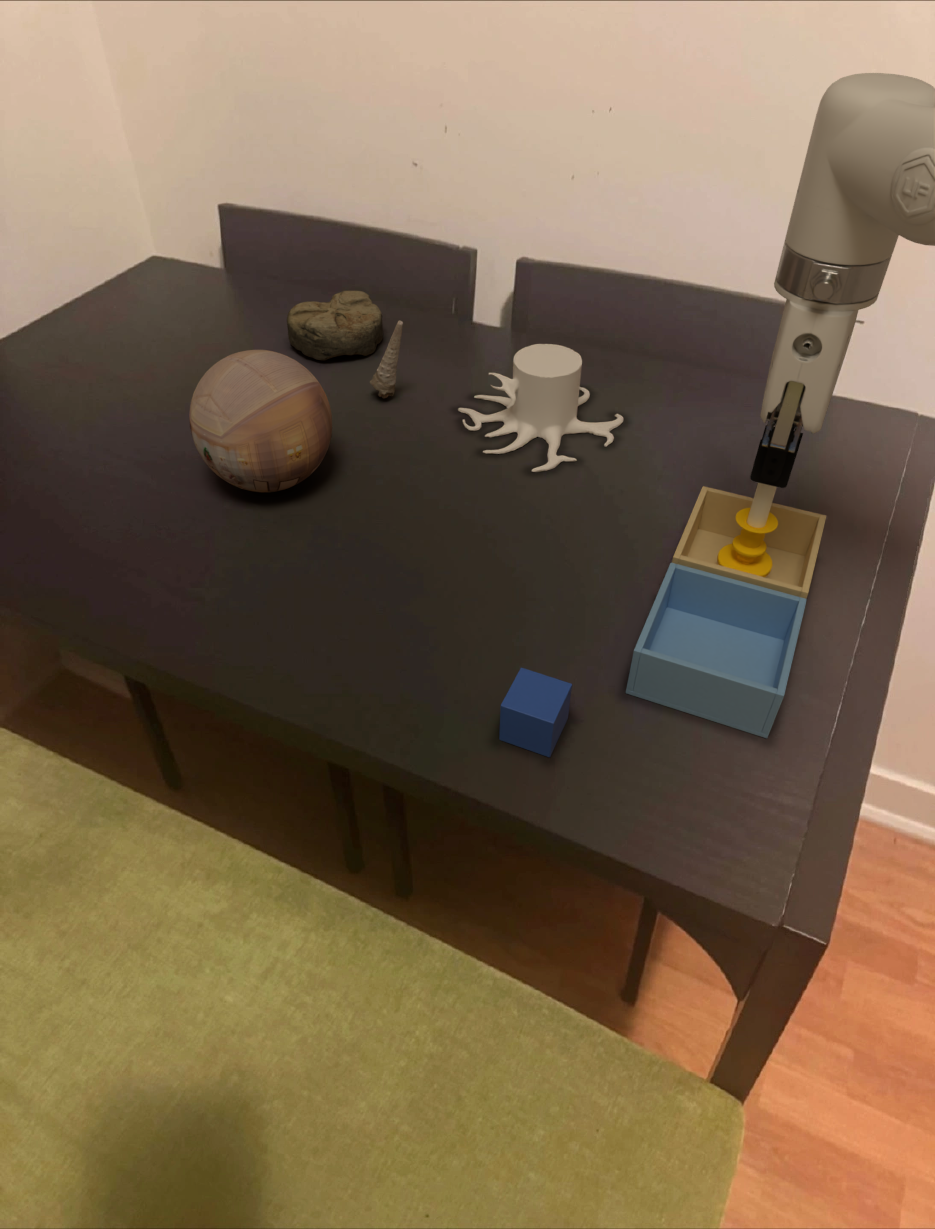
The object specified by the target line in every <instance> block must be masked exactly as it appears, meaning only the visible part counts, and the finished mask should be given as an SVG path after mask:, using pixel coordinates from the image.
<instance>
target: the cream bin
mask: <svg viewBox="0 0 935 1229" xmlns="http://www.w3.org/2000/svg"><path fill="white" fill-rule="evenodd" d="M753 499H754V497H749V496H746V495H741V494H739V493H734V492H729V491H726V490H722V489H716V488H714V487H708V486H704V485H703V486H702V487H701V489H700V492H699V494H698V496H697V499H696V501H695V503H694V506H693V508H692V510H691V513H690V515H689V518H688V520H687V522H686V525H685V527H684V529H683V532H682V535H681V537H680V539H679V542H678V544H677V546H676V549H675V552H674V553H673V556H672V559H671V563H675V564H679V565H683V566H686V567H690V568H694V569H697V570H701V571H705V572H709V573H712V574H716V575H720V576H723V577H727V578H731V579H735V580H738V581H742V582H746V583H749V584H753V585H757V586H761V587H764V588H768V589H772V590H775V591H779V592H783V593H786V594H790V595H794V596H798V597H801V598H805V599H807V598H808V596H809V592H810V587H811V583H812V579H813V575H814V570H815V566H816V563H817V558H818V555H819V554H818V553H819V549H820V546H821V541H822V537H823V532H824V528H825V523H826V520H827V515H825V514H821V513H817V512H812V511H808V510H804V509H800V508H796V507H792V506H788V505H784V504H779V503H775V502H772V505H771V508H770V511H769V512H770V513H772V514H773V515H774V516H775V517H776V518H777V520H778V526H777V528H776V529H775V530H774V531H772V532H770V533H765V537H764V539H763V540H764V542H765V543H766V545H767V549H766V552H767V554H768V555H769V556H770V557H771V559H772V564H773V566H772V569H771V571H770V573H769V574H768V575H767V576H766V577H761V576H758V575H754V574H750V573H746V572H743V571H739V570H735V569H731V568H728V567H724V566H720V565H719V564H718V562H717V556H718V553H719V551H720V550H721V549H722V548H723V547H724V546H726V545H728V544H732V542H733V539H734V538H735V537H736V536H738V535H740V533H741V529H742V527H740V526H739V525H738V524H737V522H736V514H737V513H738V512H739V511H740V510H742V509H744V508H751V505H752V502H753Z"/></svg>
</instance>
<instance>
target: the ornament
mask: <svg viewBox="0 0 935 1229" xmlns="http://www.w3.org/2000/svg"><path fill="white" fill-rule="evenodd" d="M188 414H189V416H188V417H189V418H188V419H189V429H190V430H189V431H190V435H191V437H192V441H193V444H194V447H195V448H196V451H197V453H198V454H199V456H200V458H201V459H202V461H203V462H204V463H205V464H206V466H207V467H208V468H209V469H210V470H211V471H212V472H213V473H214V474H215V475H216V476H218V477H219V478H220V479H222V480H223V481H224V482H226V483H228V484H230V485H232V486H234V487H236V488H239V489H242V490H246V491H250V492H254V493H274V492H279V491H284V490H286V489H287V490H288V489H289V488H292V487H295V486H296V485H299V484H300V483H301V482H303V481H305V480H307V479H308V478H309V477H310V476H311V475H312V474H313V473H314V472H315V471H316V470H317V469H318V467H319V466H320V464H321V463H322V462H323V460H324V459H325V456H326V454H327V452H328V450H329V448H330V443H331V440H332V435H333V434H332V432H333V415H332V409H331V405H330V402H329V400H328V396H327V393H326V392H325V391H324V388H323V387H322V385H321V383H320V382H319V381H318V379H317V378H316V376H315V375H314V374H313V373H312V372H311V371H310V370H309V369H308V368H306V367H305V366H304V365H303V364H301V363H300V362H299V361H297V360H296V359H294V358H293V357H290V356H288V355H286V354H283V353H280V352H278V351H277V352H276V351H274V350H273V351H272V350H266V349H248V350H243V351H238V352H235V353H232V354H229V355H227V356H225V357H223V358H221V359H220V360H218V361H217V362H215V363H214V364H213V365H212V366H211V367H210V368H209V369H208V370H207V371H205V373H204V374H203V376H202V377H201V378H200V380H199V381H198V383H197V385H196V387H195V389H194V391H193V394H192V397H191V400H190V405H189V412H188Z"/></svg>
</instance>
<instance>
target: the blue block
mask: <svg viewBox="0 0 935 1229" xmlns="http://www.w3.org/2000/svg"><path fill="white" fill-rule="evenodd" d="M572 689H573V683H571V682H568V681H566V680H565V681H564V680H561V679H558V678H555V677H552V676H549V675H546V674H543V673H540V672H537V671H534V670H531V669H527V668H525V667H520V668H519V670H518V672H517V673H516V676H515V678H514V679H513V681H512V684H511V685H510V687H509V689H508V691H507V693H506V694H505V695H504V698H503V700H502V702H501V704H500V713H499V733H498V734H499V737H498V739H499V741H502V742H504V743H507V744H510V745H512V746H516V747H518V748H521V749H525V750H527V751H530V752H532V753H536V754H537V755H541V756H545V757H547V758H551V756H552V755H553V752H554V749H555V748H556V745H557V743H558V741H559V740H560V737H561V735H562V732H563V730H564V728H565V726H566V724H567V722H568V719H569V713H570V705H571V698H572V697H571V696H572V691H573V690H572Z"/></svg>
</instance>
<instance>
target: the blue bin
mask: <svg viewBox="0 0 935 1229" xmlns="http://www.w3.org/2000/svg"><path fill="white" fill-rule="evenodd" d="M807 601H808V599H807V598H806V599H805V598H801V597H798V596H794V595H790V594H786V593H783V592H779V591H775V590H772V589H768V588H764V587H761V586H757V585H753V584H749V583H746V582H742V581H738V580H735V579H731V578H727V577H723V576H720V575H716V574H712V573H709V572H705V571H701V570H697V569H694V568H690V567H686V566H683V565H679V564H675V563H672V562H670V563H669V566H668V568H667V570H666V572H665V576H664V577H663V580H662V582H661V584H660V587H659V589H658V592H657V594H656V597H655V599H654V601H653V603H652V606H651V607H650V610H649V613H648V616H647V617H646V619H645V620H646V621H645V623H644V625H643V626H642V627H643V628H642V630H641V632H640V634H639V637H638V640H637V642H636V643H635V647H634V649H633V652H632V657H631V663H630V666H629V667H630V668H629V674H628V678H627V683H626V689H625V694H627V695H630V696H632V697H636V698H639V699H642V700H645V701H648V702H651V703H655V704H658V705H661V706H664V707H667V708H670V709H674V710H677V711H680V712H683V713H686V714H688V715H692V716H695V717H698V718H700V719H705V720H708V721H711V722H713V723H717V724H721V725H723V726H727V727H729V728H733V729H735V730H738V731H742V732H744V733H748V734H752V735H754V736H758V737H761V738H764V739H768V738H769V735H770V732H771V730H772V728H773V726H774V723H775V720H776V718H777V715H778V713H779V710H780V708H781V705H782V702H783V700H784V698H785V694H786V689H787V685H788V681H789V677H790V673H791V668H792V665H793V660H794V655H795V652H796V647H797V643H798V638H799V635H800V631H801V626H802V622H803V619H804V618H803V617H804V614H805V610H806V605H807Z"/></svg>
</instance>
